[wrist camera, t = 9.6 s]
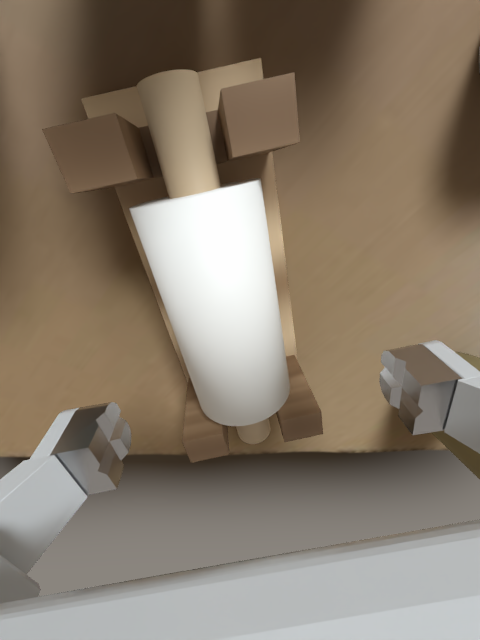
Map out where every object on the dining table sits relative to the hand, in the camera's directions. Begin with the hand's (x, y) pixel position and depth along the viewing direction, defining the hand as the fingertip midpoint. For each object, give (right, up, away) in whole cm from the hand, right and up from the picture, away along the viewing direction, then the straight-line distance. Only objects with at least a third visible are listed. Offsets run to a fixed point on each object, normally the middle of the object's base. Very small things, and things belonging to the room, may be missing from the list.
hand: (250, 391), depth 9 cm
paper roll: (-1, +4, +10) cm, 11 cm away
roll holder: (-2, +5, +11) cm, 12 cm away
